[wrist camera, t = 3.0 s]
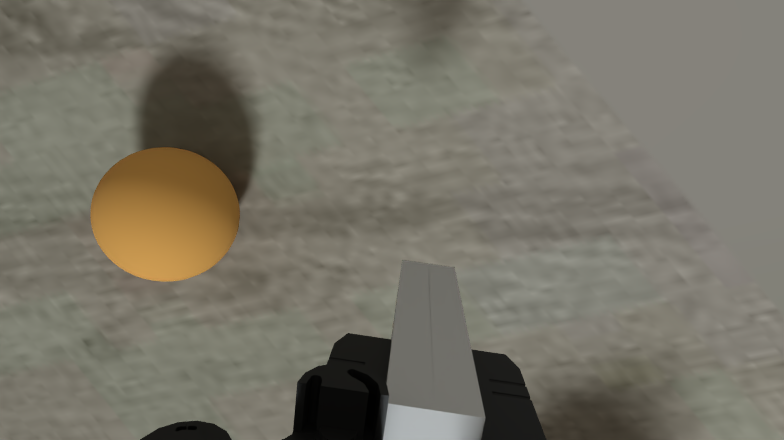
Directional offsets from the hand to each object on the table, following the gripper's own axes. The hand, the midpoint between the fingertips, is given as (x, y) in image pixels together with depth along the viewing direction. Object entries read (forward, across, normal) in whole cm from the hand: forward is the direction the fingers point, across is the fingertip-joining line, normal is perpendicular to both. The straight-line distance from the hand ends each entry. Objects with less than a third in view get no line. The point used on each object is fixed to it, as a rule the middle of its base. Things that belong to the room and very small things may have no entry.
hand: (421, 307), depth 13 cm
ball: (+6, +10, 0) cm, 12 cm away
